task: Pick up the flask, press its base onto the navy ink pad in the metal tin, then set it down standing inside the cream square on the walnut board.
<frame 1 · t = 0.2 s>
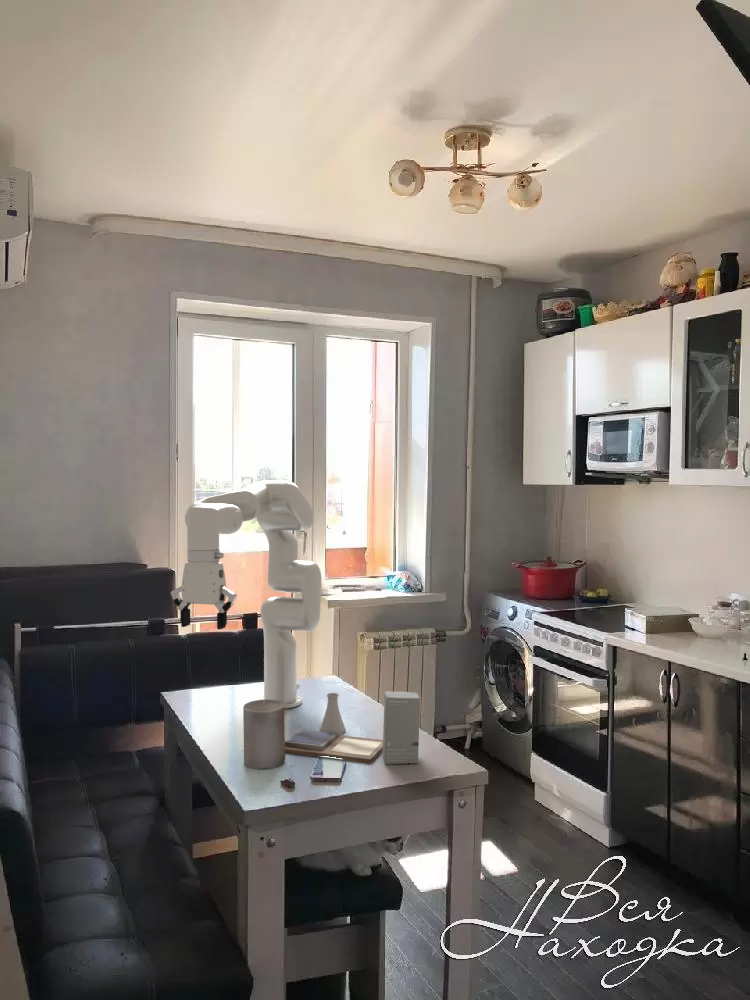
hand: (203, 627, 197), 31 cm above the table, tool pointing down, fingers open, 9 cm apart
skincare box: (400, 760, 194), on the table
flask: (332, 732, 215), on the table
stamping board: (333, 748, 202), on the table
pillar candle: (264, 763, 192), on the table
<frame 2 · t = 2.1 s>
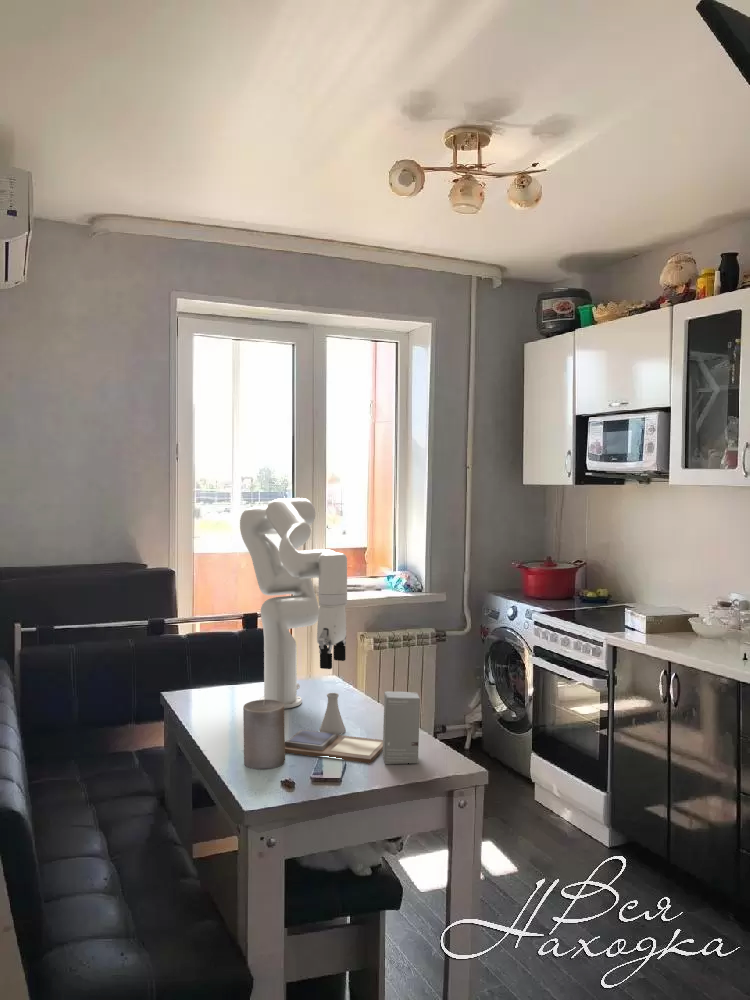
hand: (332, 664, 214), 18 cm above the table, tool pointing down, fingers open, 9 cm apart
nothing on the table moved.
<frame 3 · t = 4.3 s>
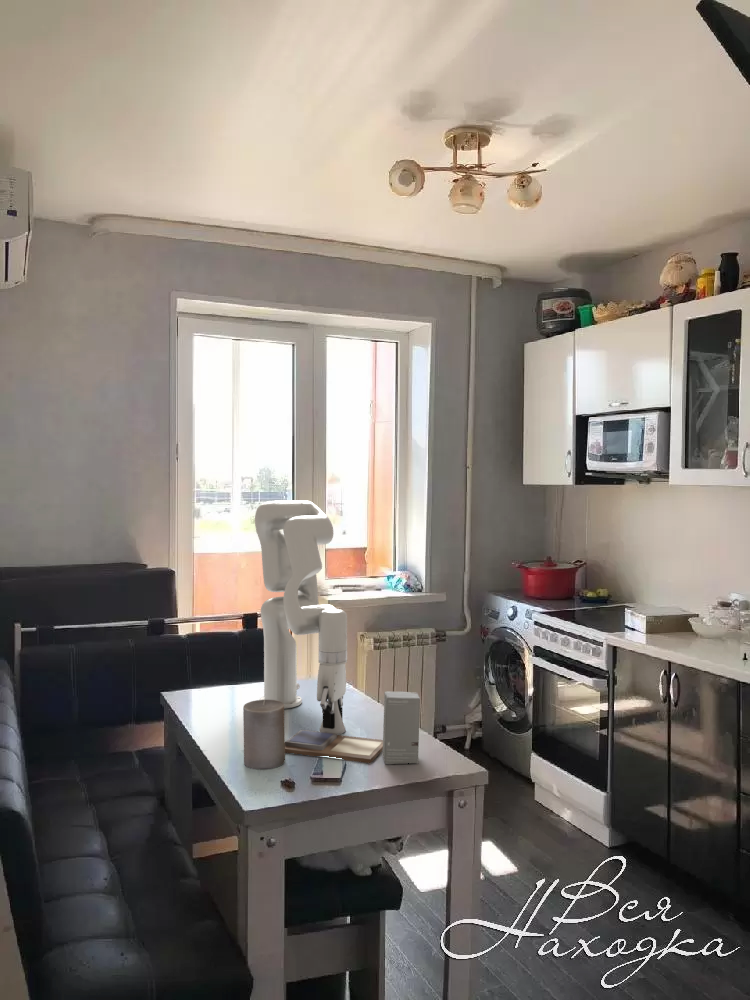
hand: (332, 724, 215), 2 cm above the table, tool pointing down, fingers closed on flask, 4 cm apart
flask: (332, 732, 215), on the table, touching gripper
everything else where it was.
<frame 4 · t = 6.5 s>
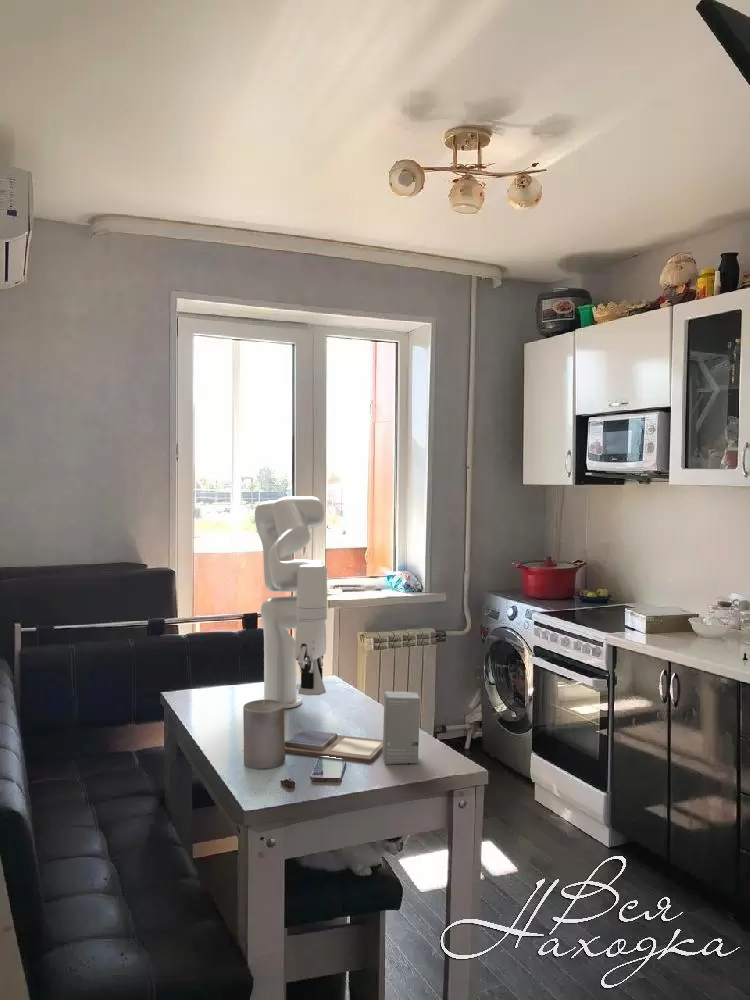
hand: (311, 684, 203), 15 cm above the table, tool pointing down, fingers closed on flask, 4 cm apart
flask: (312, 693, 203), point 13 cm above the table, touching gripper
everything else where it was.
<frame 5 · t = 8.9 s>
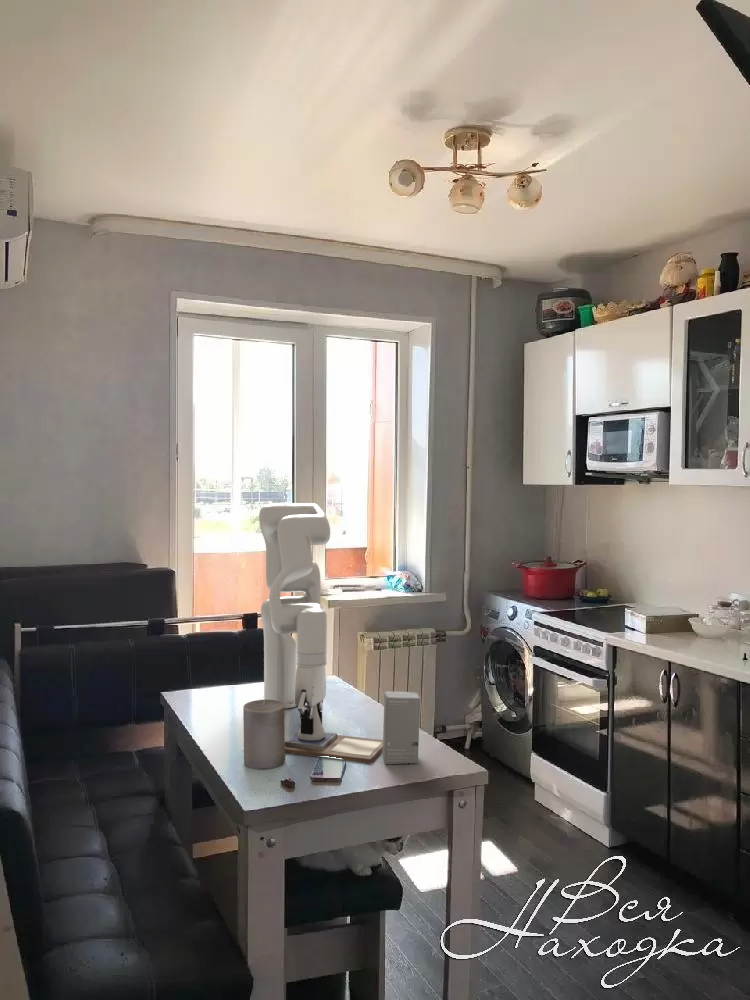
hand: (311, 729, 204), 4 cm above the table, tool pointing down, fingers closed on flask, 4 cm apart
flask: (311, 737, 204), point 2 cm above the table, touching gripper, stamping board
everything else where it was.
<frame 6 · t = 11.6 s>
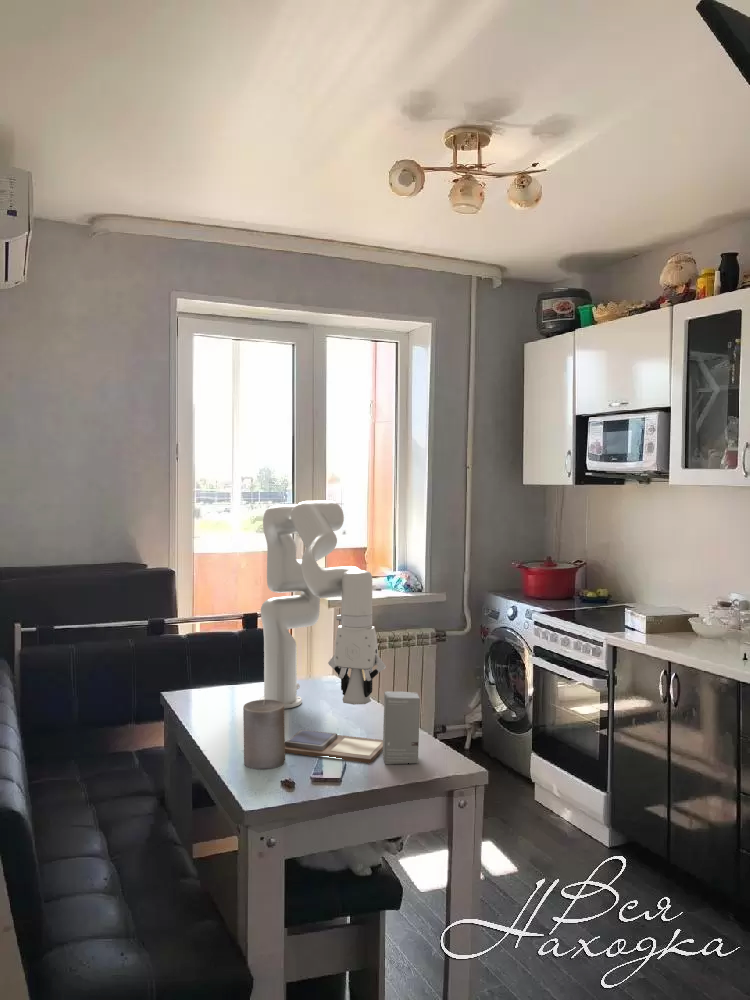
hand: (356, 693, 199), 14 cm above the table, tool pointing down, fingers closed on flask, 4 cm apart
flask: (356, 702, 200), point 12 cm above the table, touching gripper
everything else where it was.
when the fingers open (4 cm above the table, at t = 13.7 s): flask stays where it is, resting on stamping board.
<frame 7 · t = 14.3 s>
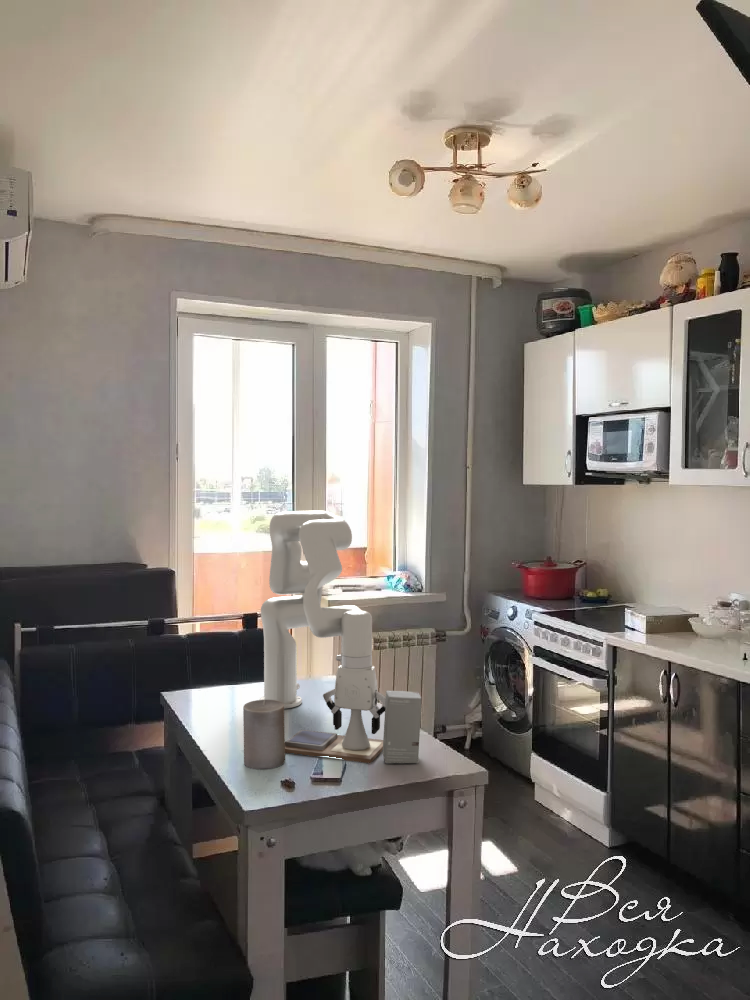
hand: (356, 730, 200), 5 cm above the table, tool pointing down, fingers open, 9 cm apart
skincare box: (400, 759, 194), on the table, touching gripper
flask: (356, 746, 200), point 1 cm above the table, touching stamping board
everything else where it was.
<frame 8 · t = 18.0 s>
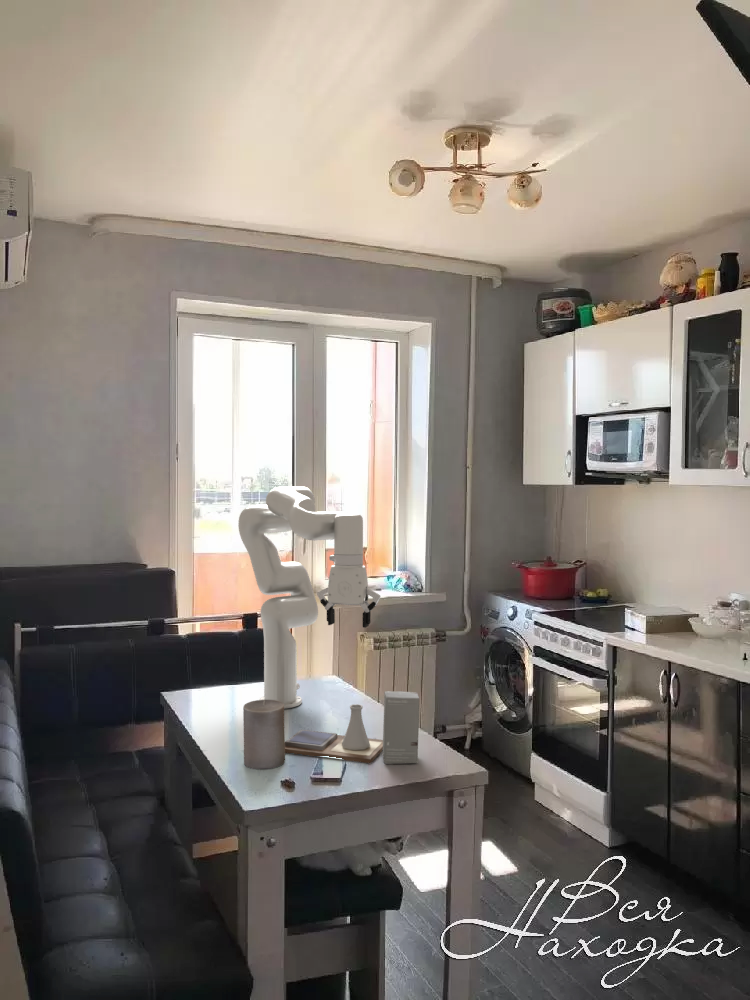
hand: (348, 625, 213), 28 cm above the table, tool pointing down, fingers open, 9 cm apart
skincare box: (400, 760, 194), on the table
everything else where it was.
at the end: flask 0.3 cm from the target spot on the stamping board, point 0.9 cm above the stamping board's base; flask tilted 0°; the gripper is holding nothing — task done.
